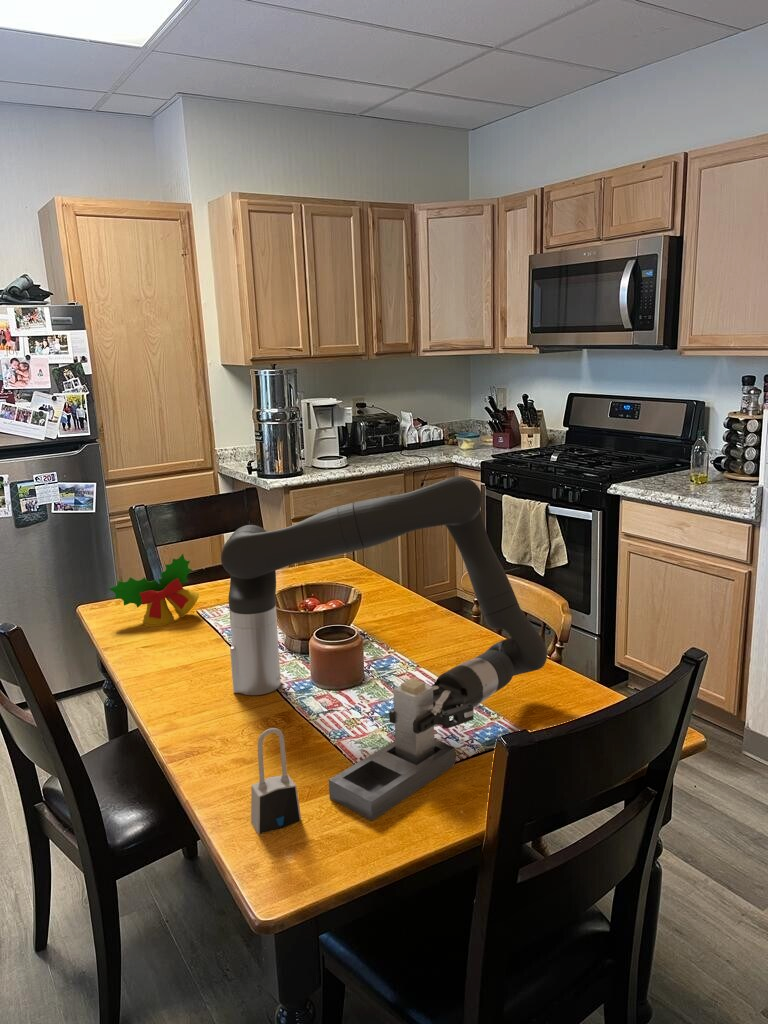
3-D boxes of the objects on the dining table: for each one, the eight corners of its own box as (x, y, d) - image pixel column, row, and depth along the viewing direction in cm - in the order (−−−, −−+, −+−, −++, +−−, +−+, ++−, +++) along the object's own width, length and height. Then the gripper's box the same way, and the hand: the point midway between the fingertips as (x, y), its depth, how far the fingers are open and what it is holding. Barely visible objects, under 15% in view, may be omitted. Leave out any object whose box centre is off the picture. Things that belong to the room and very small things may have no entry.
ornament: (135, 646, 195) (109, 602, 186) (130, 627, 201) (106, 584, 193) (212, 611, 199) (191, 567, 190) (206, 593, 206) (185, 550, 197)
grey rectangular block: (416, 765, 125) (414, 692, 122) (395, 756, 128) (393, 684, 125) (434, 754, 128) (432, 682, 125) (413, 745, 131) (411, 674, 128)
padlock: (258, 835, 112) (252, 741, 109) (250, 820, 116) (243, 728, 112) (302, 822, 115) (297, 729, 112) (292, 807, 119) (287, 717, 115)
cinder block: (371, 821, 115) (371, 801, 114) (329, 798, 120) (328, 779, 120) (455, 764, 129) (454, 747, 128) (413, 746, 135) (413, 729, 134)
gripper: (434, 655, 140) (369, 688, 128) (501, 676, 131) (437, 715, 119) (435, 693, 142) (371, 730, 130) (501, 717, 132) (438, 759, 120)
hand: (403, 722), depth 124 cm, fingers closed on grey rectangular block, 4 cm apart
